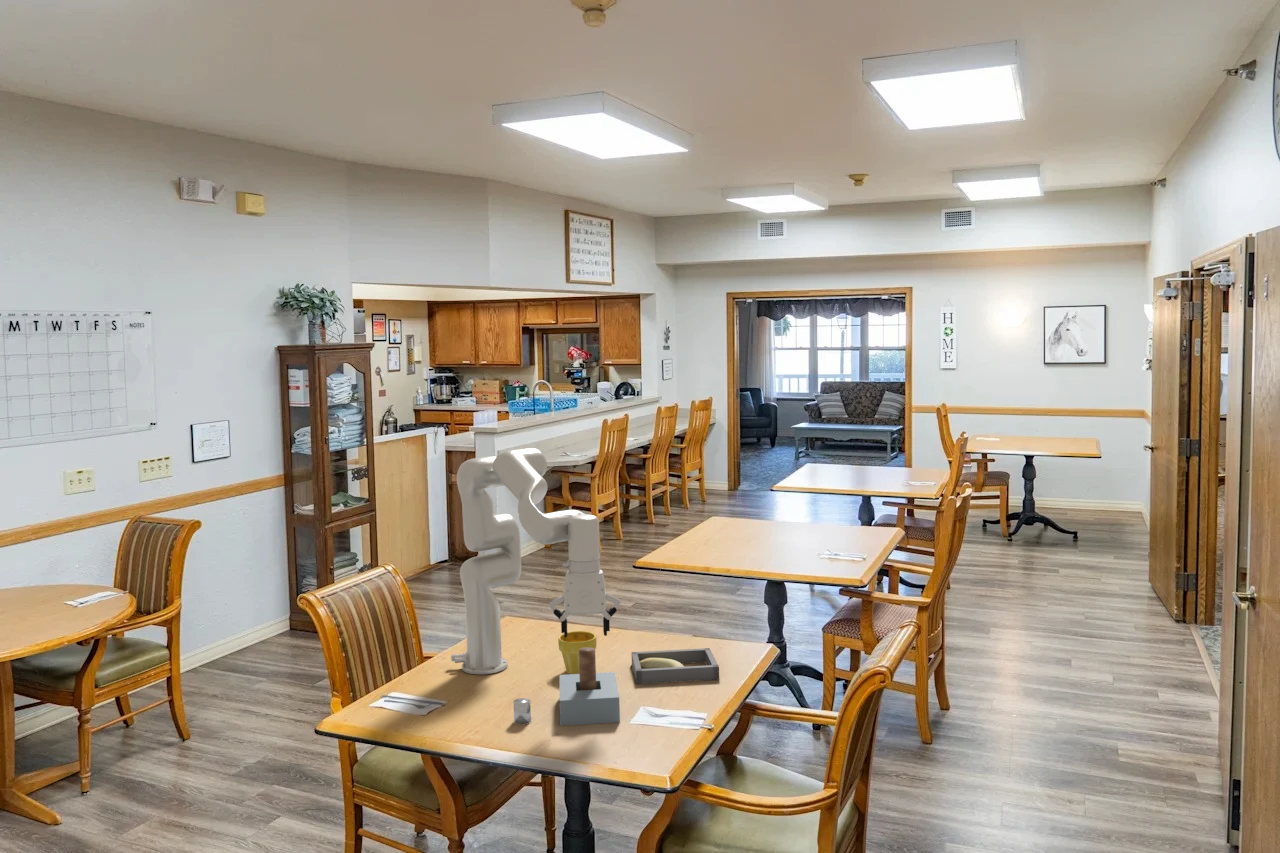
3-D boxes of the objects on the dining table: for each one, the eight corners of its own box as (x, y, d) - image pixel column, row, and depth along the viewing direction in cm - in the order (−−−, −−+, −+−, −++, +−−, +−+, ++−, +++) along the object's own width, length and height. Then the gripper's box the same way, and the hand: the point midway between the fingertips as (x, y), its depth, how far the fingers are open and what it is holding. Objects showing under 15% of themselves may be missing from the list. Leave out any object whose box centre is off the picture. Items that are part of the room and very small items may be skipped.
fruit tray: (636, 684, 250) (636, 671, 249) (631, 664, 265) (631, 652, 265) (719, 679, 251) (719, 666, 251) (709, 660, 267) (709, 648, 267)
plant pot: (583, 679, 254) (582, 643, 253) (552, 674, 259) (550, 638, 259) (604, 668, 263) (603, 633, 262) (573, 662, 268) (572, 628, 267)
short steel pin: (513, 725, 224) (513, 704, 224) (514, 718, 228) (513, 698, 228) (530, 724, 224) (530, 703, 224) (531, 717, 228) (530, 697, 228)
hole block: (560, 725, 223) (559, 700, 223) (560, 698, 241) (559, 674, 240) (619, 722, 224) (619, 697, 224) (615, 694, 242) (614, 671, 242)
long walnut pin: (580, 713, 230) (578, 652, 229) (580, 707, 234) (578, 647, 233) (597, 712, 231) (595, 651, 230) (596, 706, 235) (594, 646, 234)
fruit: (656, 664, 267) (655, 652, 266) (695, 676, 256) (694, 664, 255) (637, 670, 262) (637, 658, 262) (676, 683, 251) (675, 671, 251)
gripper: (548, 570, 225) (549, 641, 227) (620, 568, 227) (621, 638, 228) (548, 563, 233) (550, 631, 234) (618, 561, 234) (619, 628, 236)
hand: (585, 634), depth 231 cm, fingers open, 9 cm apart
